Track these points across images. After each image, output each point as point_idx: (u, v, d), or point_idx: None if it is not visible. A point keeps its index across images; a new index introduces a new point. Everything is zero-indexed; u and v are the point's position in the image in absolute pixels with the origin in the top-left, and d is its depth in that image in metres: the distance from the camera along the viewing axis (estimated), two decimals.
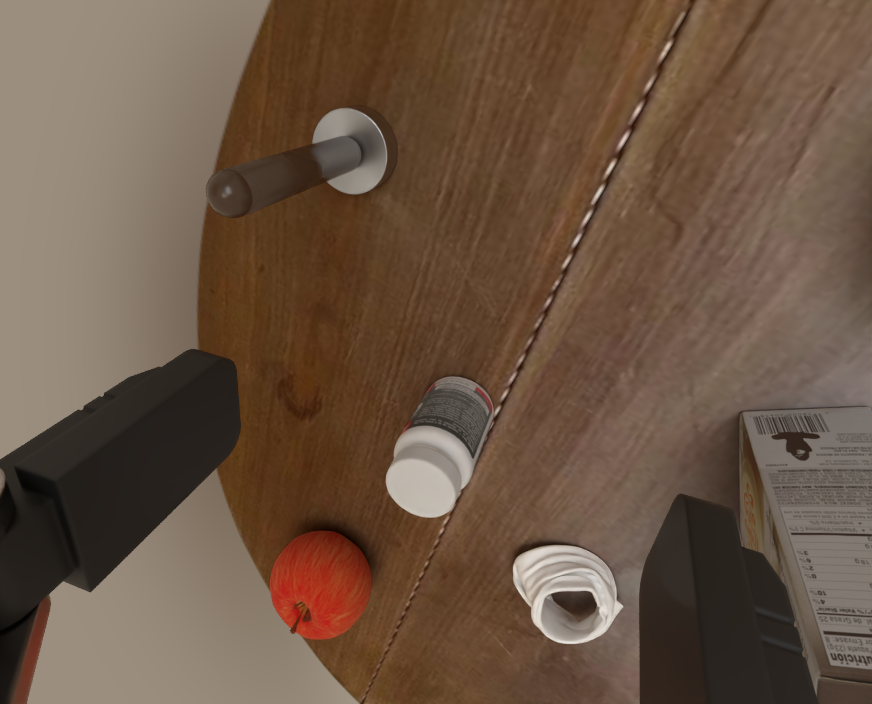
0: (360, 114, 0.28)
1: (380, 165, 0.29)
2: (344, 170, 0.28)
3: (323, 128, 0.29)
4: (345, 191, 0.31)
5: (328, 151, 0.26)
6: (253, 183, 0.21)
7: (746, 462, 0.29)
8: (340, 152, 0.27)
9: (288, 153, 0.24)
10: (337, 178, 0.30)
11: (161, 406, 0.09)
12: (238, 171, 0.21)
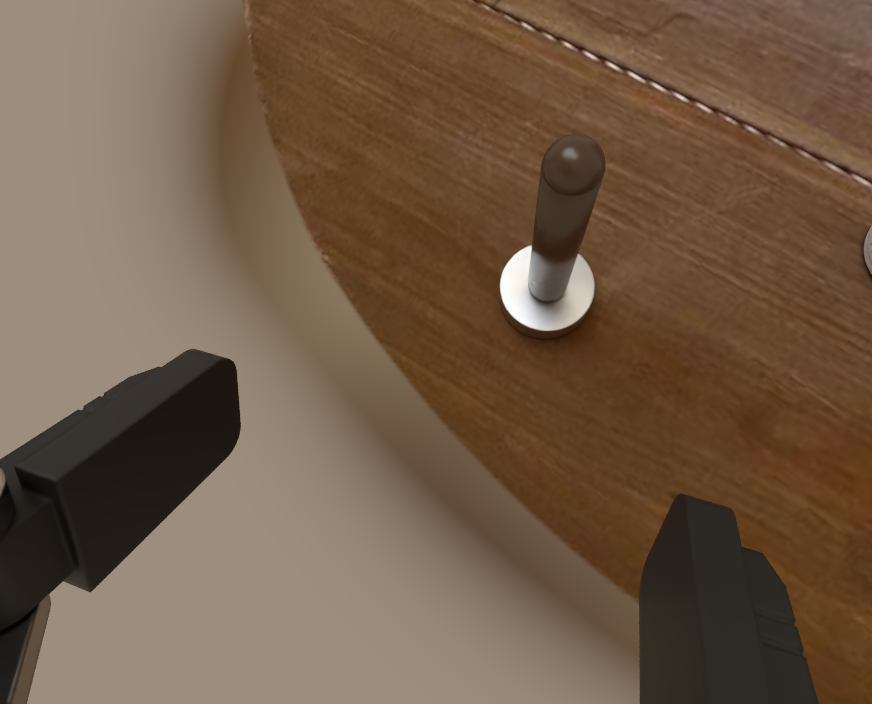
0: (511, 261, 0.26)
1: None
2: None
3: (515, 306, 0.26)
4: (588, 303, 0.25)
5: None
6: None
7: None
8: None
9: None
10: (572, 308, 0.25)
11: (161, 406, 0.09)
12: None
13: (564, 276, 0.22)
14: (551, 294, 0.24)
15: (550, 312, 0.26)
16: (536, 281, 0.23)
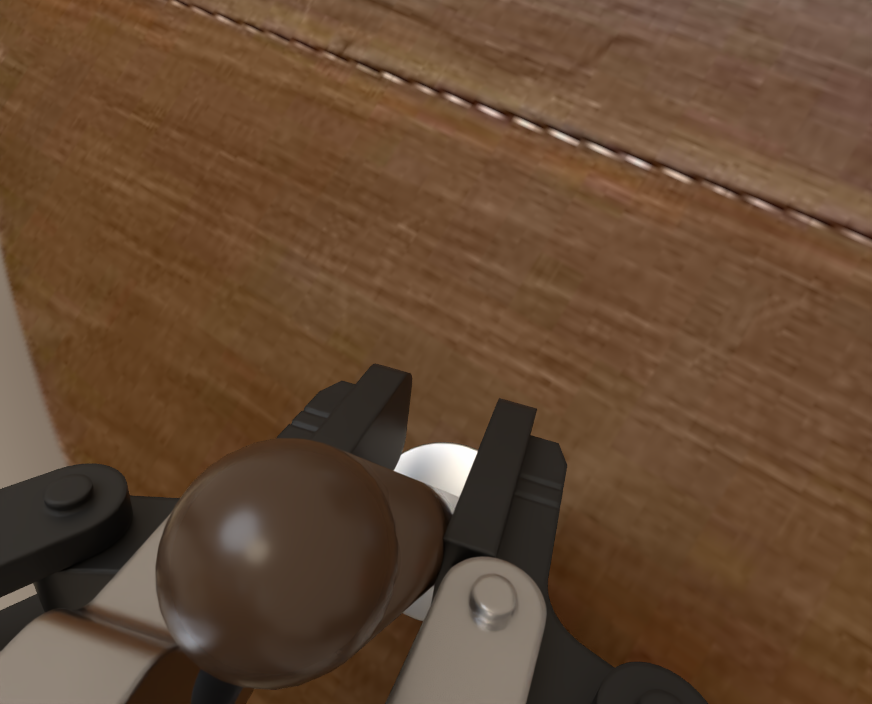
0: None
1: None
2: None
3: None
4: None
5: None
6: None
7: None
8: None
9: None
10: None
11: (375, 421, 0.09)
12: None
13: None
14: None
15: None
16: None
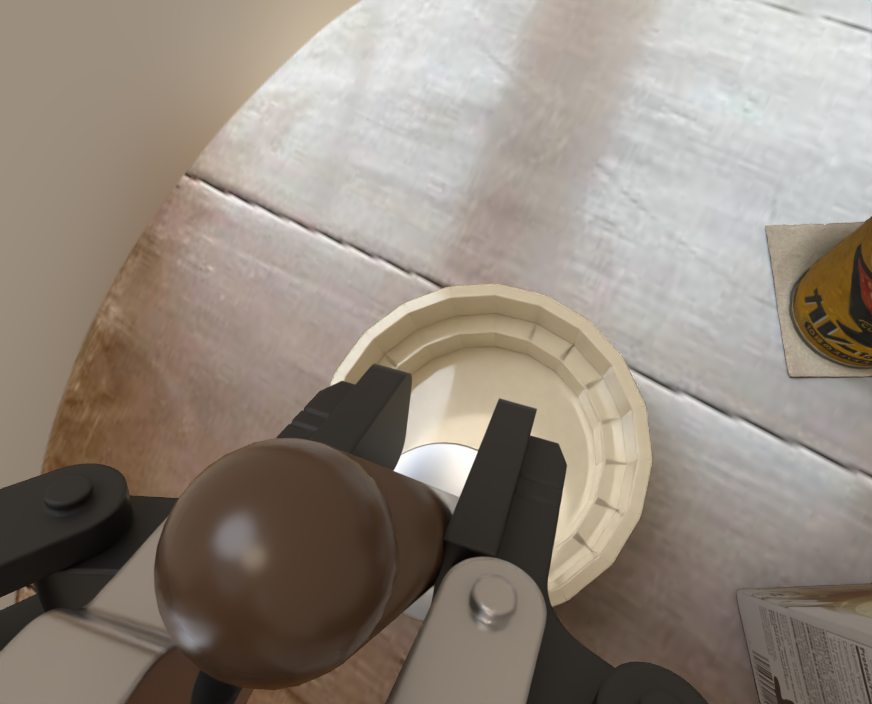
0: None
1: None
2: None
3: None
4: None
5: None
6: None
7: None
8: None
9: None
10: None
11: (375, 421, 0.09)
12: None
13: None
14: None
15: None
16: None
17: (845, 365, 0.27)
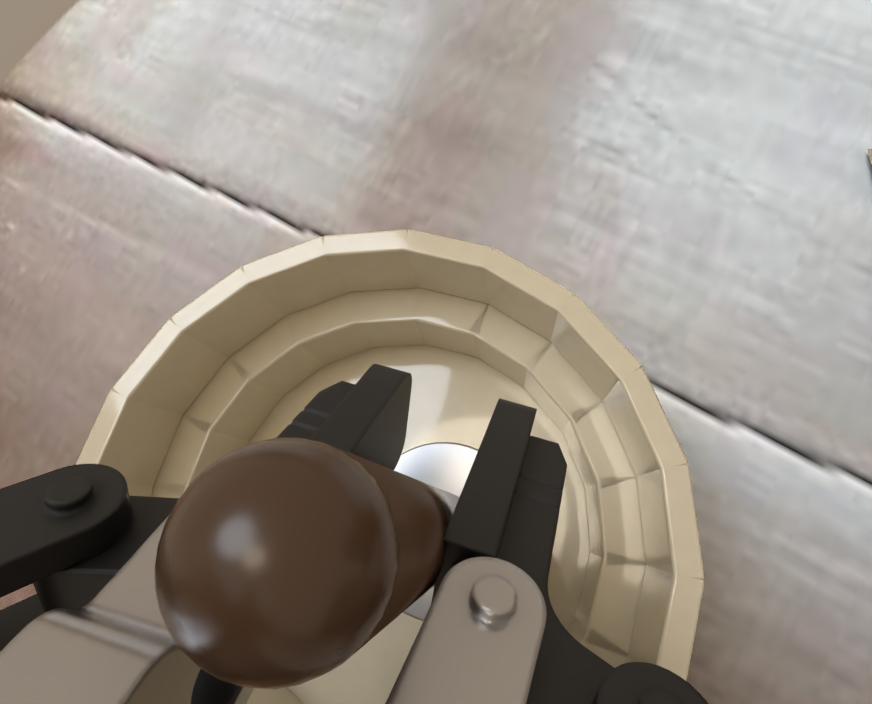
0: None
1: None
2: None
3: None
4: None
5: None
6: None
7: None
8: None
9: None
10: None
11: (375, 421, 0.09)
12: None
13: None
14: None
15: None
16: None
17: None
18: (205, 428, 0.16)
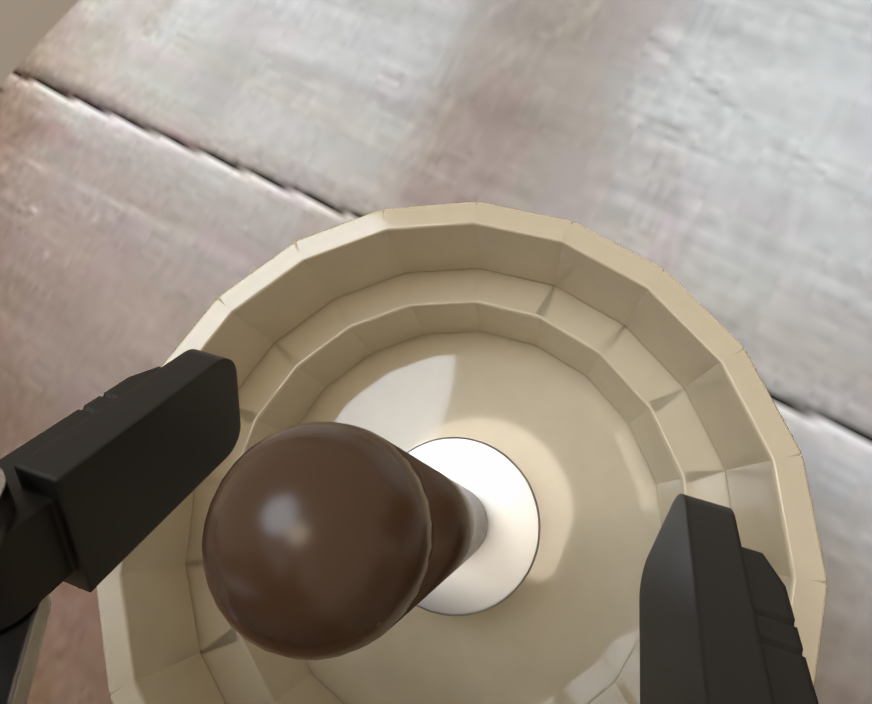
0: None
1: (485, 458, 0.15)
2: (471, 493, 0.12)
3: None
4: (531, 553, 0.14)
5: None
6: None
7: None
8: None
9: None
10: (502, 566, 0.14)
11: (161, 406, 0.09)
12: None
13: None
14: None
15: (463, 576, 0.14)
16: None
17: None
18: (250, 418, 0.15)
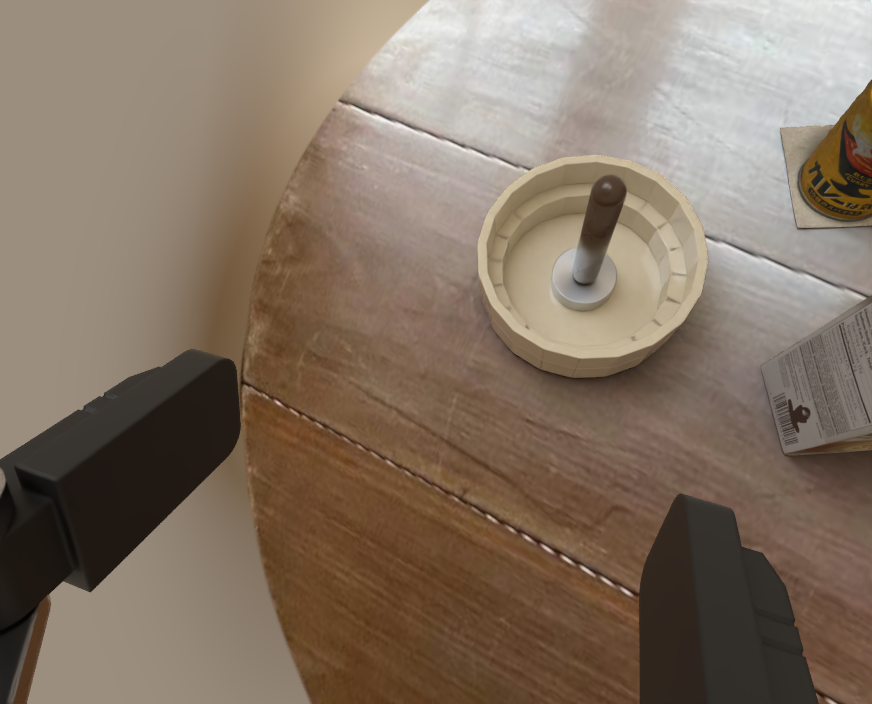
0: (558, 260, 0.39)
1: None
2: None
3: (565, 290, 0.38)
4: (614, 282, 0.38)
5: None
6: None
7: (831, 450, 0.33)
8: None
9: None
10: (603, 287, 0.38)
11: (161, 406, 0.09)
12: (593, 185, 0.29)
13: (600, 262, 0.35)
14: (590, 277, 0.37)
15: (589, 291, 0.38)
16: (581, 268, 0.36)
17: (837, 219, 0.39)
18: (506, 238, 0.39)
